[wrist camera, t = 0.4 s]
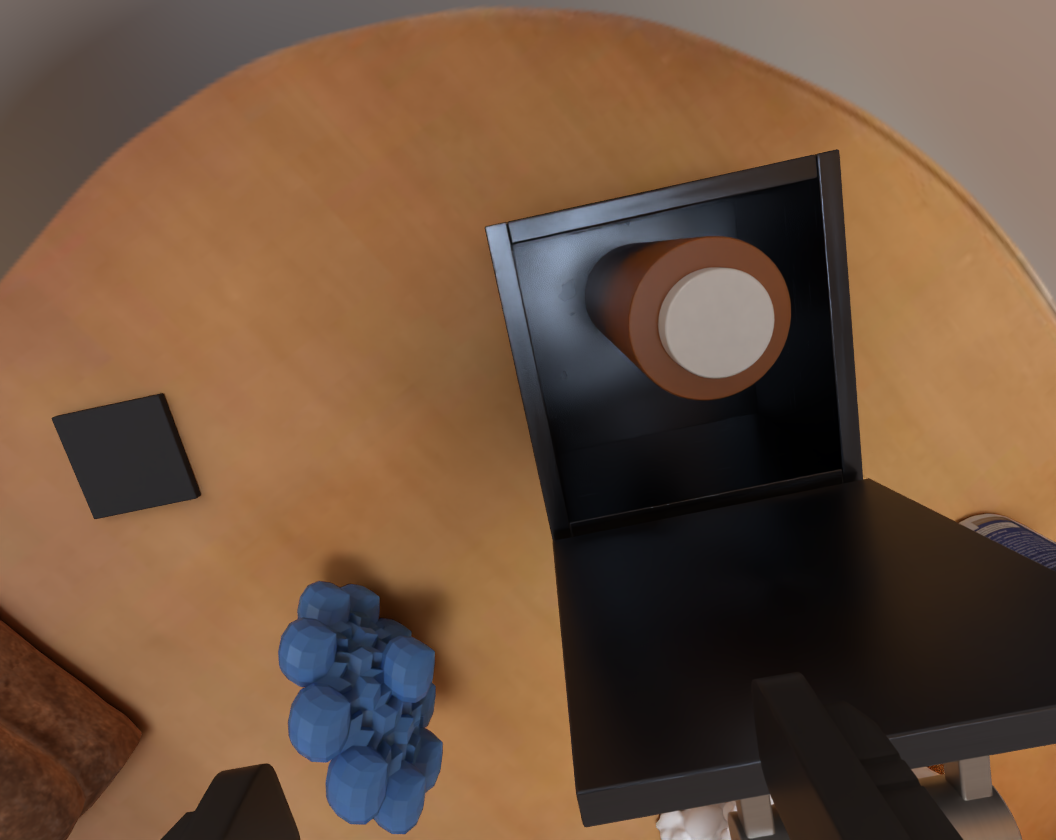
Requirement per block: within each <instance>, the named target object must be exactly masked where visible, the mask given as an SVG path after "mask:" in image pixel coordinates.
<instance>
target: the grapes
mask: <svg viewBox="0 0 1056 840" xmlns="http://www.w3.org/2000/svg"><path fill="white" fill-rule="evenodd" d="M297 613H298V619H297V620H295V621H293V622H291V623H290V624H289V625H288V627H287V628H286V630H285V631H284V633H283V634H282V636H281V641H280V645H279V650H278V655H279V666H280V669H281V671H282V673H283V674H284V675H285V676H286V677H287V678H288V679H289V680H290V681H292V682H293V683H295V684H297V685H298V686H300V687H305V688H303V689H301V690H300V691H299V693H298V695H297V696H296V698H295V700H294V701H293V703H292V705H291V710H290V715H289V720H288V732H289V738H290V741H291V743H292V745H293V746H294V748H295V749H296V750H297V751H298V753H299V754H301V755H302V756H304V757H305V758H307V759H308V760H310V761H312V762H328V761H330V760H331V759H332V760H331V762H330V764H329V767H328V772H327V778H326V797H327V801H328V803H329V805H330V806H331V808H332V809H333V810H334V812H335V813H336V814H337V816H339V817H340V818H342V819H343V820H345V821H346V822H348V823H350V824H366V823H368V822H369V821H370V820H372V819H374V820H375V821H376V822H377V824H378V825H379V826H380V827H382V828H383V829H385V830H387V831H388V832H390V833H391V834H406V833H407V832H408V831H409V830H411V829H412V828H413V827H414V826H415V825H416V824H417V822H418V819H419V817H420V815H421V812H422V810H423V806H424V798H425V793H426V792H427V791H428V790H430V789H431V788H432V787H433V786H434V785H435V782H436V780H437V778H438V775H439V773H440V769H441V762H442V754H443V742H442V741H440V740H439V739H438V738H437V737H436V736H435V735H434V734H433V733H432V732H431V731H429V730H428V729H426V728H425V727H427V726H428V724H429V722H430V719H431V717H432V715H433V711H434V704H435V696H436V686H435V685H434V684H433V683H432V680H433V673H434V666H435V651H434V650H432V649H431V648H430V647H429V646H427V645H426V644H424V643H422V642H421V641H419V640H417V639H415V638H413V637H412V635H411V631H410V630H409V629H408V628H406V627H405V626H404V625H402V624H400V623H398V622H396V621H395V620H393V619H387V618H380V619H379V614H380V597H379V596H378V595H377V594H375V593H374V592H373V591H371V590H369V589H367V588H365V587H364V586H361V585H355V584H348V585H346V586H343V587H341V588H340V587H338V586H336V585H335V584H333V583H330V582H323V581H317V582H315V583H313V584H310V585H308V586H307V587H306V589H305V590H304V592H303V593H302V595H301V596H300V600H299V605H298V610H297Z"/></svg>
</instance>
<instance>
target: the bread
mask: <svg viewBox="0 0 1056 840" xmlns="http://www.w3.org/2000/svg"><path fill="white" fill-rule="evenodd" d="M141 734H142V732H141V731H140V730H139V729H138V728H137V727H136V726H135V725H134V724H133V723H132V722H131V721H130V719H129V718H128V717H127V716H126V715H124V714H123V713H121V712H120V711H118V710H117V709H115V708H114V707H112V706H111V705H109V704H108V703H106V702H105V701H104V700H103V699H101V698H100V697H99V696H98V695H97V694H95V693H94V692H93V691H92V690H91V689H89V688H88V687H87V686H85V685H84V684H83V683H81V682H80V681H79V680H77V679H76V678H74V677H73V676H72V675H70V674H69V673H68V672H66V671H65V670H63V669H62V668H61V667H59V666H58V665H57V664H55V663H54V662H53V661H51V660H50V659H49V658H47V657H46V656H45V655H43V654H42V653H41V652H39V651H38V650H37V649H36V648H34V647H33V646H32V645H31V644H29V643H28V642H27V641H26V640H25V639H23V638H22V637H21V636H20V635H18V634H17V633H16V632H15V631H14V630H12V629H11V628H10V627H9V626H7V625H6V624H5V623H4V622H3V621H1V620H0V840H66V839H67V838H68V836H69V834H70V832H71V831H72V829H73V827H74V825H75V823H76V822H77V820H78V818H79V817H81V816H82V815H83V814H84V813H85V812H86V811H87V810H88V809H89V808H90V807H91V806H92V805H93V804H94V803H95V801H96V800H97V799H98V798H99V797H100V795H101V794H102V793H103V792H104V791H105V789H106V788H107V787H108V786H109V784H110V783H111V782H112V780H113V779H114V778H115V776H116V775H117V774H118V772H119V771H120V770H121V768H122V767H123V766H124V764H125V763H126V761H127V760H128V758H129V757H130V755H131V754H132V752H133V751H134V749H135V748H136V746H137V745H138V743H139V740H140V737H141Z"/></svg>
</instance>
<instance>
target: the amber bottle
mask: <svg viewBox="0 0 1056 840" xmlns="http://www.w3.org/2000/svg"><path fill="white" fill-rule="evenodd" d="M585 302H586V308H587V312H588V314H589V317H590V318H591V320H592V322H593V324H594V325H595V326H596V328H597V329H598V330H599V331H600V332H601V333H602V334H603V335H605V336H606V337H607V338H608V339H609V340H610V341H611V342H612V343H613V344H614V345H615V346H616V347H617V348H618V349H619V350H620V351H621V352H622V353H623V354H624V355H625V356H627V357H628V358H629V359H630V360H631V361H632V362H633V363H634V364H635V365H636V366H637V367H638V368H639V369H640V370H641V371H642V372H643V373H644V374H645V375H646V376H647V377H649V378H650V379H651V380H652V381H653V382H654V383H655V384H656V385H658V386H659V387H660V388H662V389H664V390H665V391H667V392H669V393H671V394H674V395H676V396H679V397H682V398H686V399H691V400H715V399H721V398H725V397H728V396H731V395H734V394H736V393H739V392H741V391H743V390H744V389H746V388H748V387H750V386H751V385H752V384H754V383H755V382H757V381H758V380H759V379H760V378H761V377H762V376H763V375H764V374H765V373H766V372H767V371H768V370H769V369H770V368H771V367H772V365H773V364H774V363H775V361H776V360H777V358H778V357H779V355H780V353H781V351H782V349H783V347H784V344H785V342H786V339H787V336H788V332H789V328H790V320H791V303H790V297H789V292H788V289H787V286H786V283H785V281H784V278H783V276H782V274H781V272H780V271H779V269H778V268H777V266H776V265H775V264H774V263H773V261H772V260H771V259H770V258H769V257H768V256H767V255H766V254H764V253H763V252H762V251H761V250H759V249H758V248H756V247H755V246H753V245H751V244H749V243H747V242H744V241H742V240H739V239H735V238H731V237H724V236H706V237H695V238H685V239H674V240H664V241H653V242H643V243H632V244H626V245H622V246H619V247H617V248H615V249H613V250H611V251H609V252H608V253H606V254H605V255H604V256H603V257H602V258H601V259H600V260H599V261H598V262H597V263H596V264H595V266H594V267H593V269H592V271H591V272H590V275H589V277H588V280H587V284H586V289H585Z"/></svg>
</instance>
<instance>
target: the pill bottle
mask: <svg viewBox="0 0 1056 840" xmlns="http://www.w3.org/2000/svg"><path fill="white" fill-rule="evenodd" d="M959 524H961V525H963V526H965V527H967V528H969V529H971V530H973V531H975V532H977V533H979V534H981V535H983V536H985V537H987V538H989V539H991V540H993V541H995V542H997V543H999V544H1001V545H1003V546H1005V547H1007V548H1009V549H1011V550H1013V551H1015V552H1017V553H1019V554H1021V555H1023V556H1025V557H1027V558H1029V559H1031V560H1033V561H1035V562H1037V563H1039V564H1041V565H1043V566H1045V567H1047V568H1049V569H1051V570H1053V571H1055V572H1056V542H1054V541H1052V540H1050V539H1048V538H1046V537H1044V536H1043V535H1041V534H1039V533H1037V532H1035V531H1033V530H1032V529H1030V528H1028V527H1027V526H1025V525H1023V524H1020V523H1018V522H1016V521H1014V520H1012V519H1010V518H1008V517H1005V516H1002V515H997V514H982V515H976V516H972V517H969V518H967V519H965V520H964V521H961V522H959Z"/></svg>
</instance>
